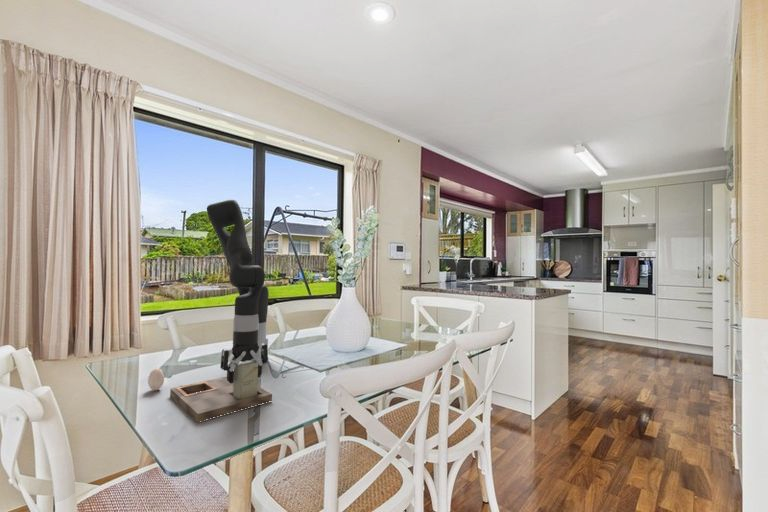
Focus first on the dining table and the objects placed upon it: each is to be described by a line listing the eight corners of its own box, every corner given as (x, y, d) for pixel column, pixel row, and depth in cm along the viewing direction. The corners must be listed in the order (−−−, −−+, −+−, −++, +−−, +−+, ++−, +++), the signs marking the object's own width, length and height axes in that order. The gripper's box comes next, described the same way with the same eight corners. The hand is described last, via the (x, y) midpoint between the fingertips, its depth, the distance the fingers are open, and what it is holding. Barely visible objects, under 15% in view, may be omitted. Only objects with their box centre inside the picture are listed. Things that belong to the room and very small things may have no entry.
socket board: (237, 381, 135) (237, 373, 135) (271, 402, 116) (272, 393, 116) (170, 396, 119) (170, 387, 119) (197, 423, 101) (197, 413, 101)
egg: (145, 393, 121) (145, 370, 121) (151, 388, 126) (151, 366, 126) (160, 392, 122) (161, 370, 122) (166, 387, 127) (166, 365, 127)
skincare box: (241, 406, 112) (242, 366, 112) (232, 403, 115) (232, 364, 115) (258, 399, 118) (258, 362, 118) (248, 396, 120) (249, 359, 120)
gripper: (261, 324, 124) (260, 372, 124) (218, 329, 114) (216, 381, 114) (272, 327, 118) (271, 378, 118) (227, 333, 108) (226, 388, 108)
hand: (244, 379), depth 116 cm, fingers open, 8 cm apart
